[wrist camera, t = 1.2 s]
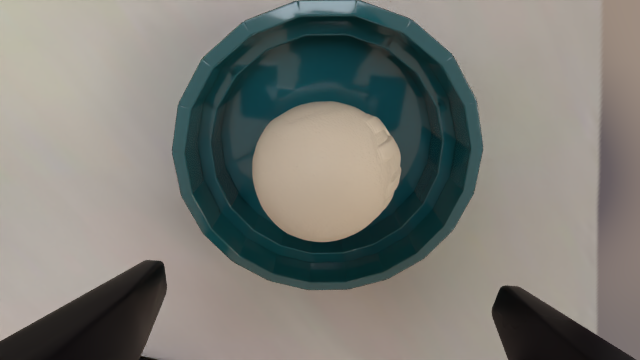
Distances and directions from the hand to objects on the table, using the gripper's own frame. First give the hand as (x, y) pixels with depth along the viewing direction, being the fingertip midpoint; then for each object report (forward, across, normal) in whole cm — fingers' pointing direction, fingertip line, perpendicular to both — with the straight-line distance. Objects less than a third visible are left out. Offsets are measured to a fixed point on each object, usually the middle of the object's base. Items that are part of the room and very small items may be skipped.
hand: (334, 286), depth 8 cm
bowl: (+12, 0, 0) cm, 12 cm away
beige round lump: (+12, 0, 0) cm, 12 cm away
